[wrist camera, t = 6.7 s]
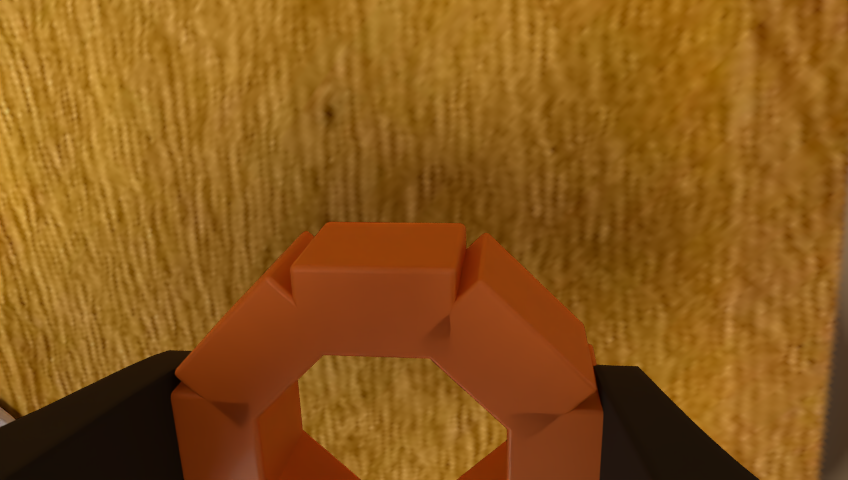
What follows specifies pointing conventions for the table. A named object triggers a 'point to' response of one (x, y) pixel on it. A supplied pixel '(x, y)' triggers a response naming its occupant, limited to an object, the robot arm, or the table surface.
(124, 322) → the table surface
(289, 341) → the ring
